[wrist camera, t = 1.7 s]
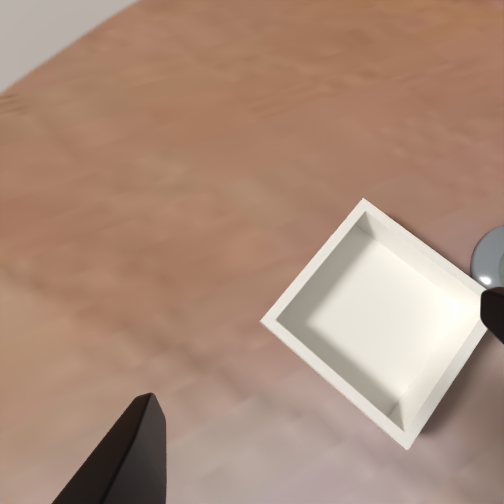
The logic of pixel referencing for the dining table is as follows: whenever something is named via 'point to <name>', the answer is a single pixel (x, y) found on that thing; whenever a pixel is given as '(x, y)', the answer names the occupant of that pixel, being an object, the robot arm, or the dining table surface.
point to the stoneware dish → (381, 321)
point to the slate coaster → (488, 258)
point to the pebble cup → (501, 270)
